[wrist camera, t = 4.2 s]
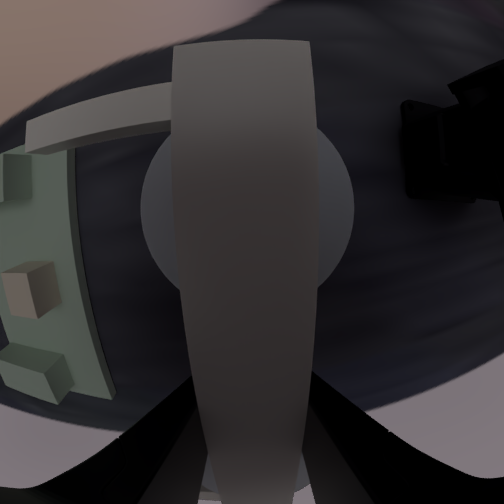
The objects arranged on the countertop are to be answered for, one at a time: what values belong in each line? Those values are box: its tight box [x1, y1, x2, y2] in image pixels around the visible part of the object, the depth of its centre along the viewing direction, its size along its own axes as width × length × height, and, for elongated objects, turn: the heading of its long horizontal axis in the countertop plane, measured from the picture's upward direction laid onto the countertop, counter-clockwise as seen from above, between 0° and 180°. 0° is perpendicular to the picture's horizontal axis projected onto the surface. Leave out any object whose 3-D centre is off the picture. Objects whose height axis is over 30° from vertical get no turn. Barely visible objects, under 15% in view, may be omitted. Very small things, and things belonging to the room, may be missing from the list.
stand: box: [0, 144, 116, 405], centre depth 15 cm, size 11×20×4 cm, turn 2°
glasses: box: [25, 39, 354, 504], centre depth 7 cm, size 9×16×3 cm, turn 2°
